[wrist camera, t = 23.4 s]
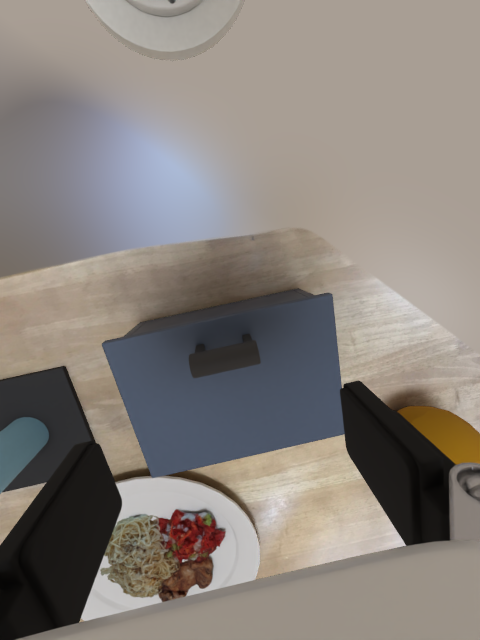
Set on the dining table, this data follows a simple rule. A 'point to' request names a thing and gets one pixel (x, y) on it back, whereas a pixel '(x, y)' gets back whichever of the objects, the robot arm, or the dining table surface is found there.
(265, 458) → the dining table surface
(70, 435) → the mat
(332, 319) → the lid
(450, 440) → the apple
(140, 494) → the plated food
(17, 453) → the bottle
